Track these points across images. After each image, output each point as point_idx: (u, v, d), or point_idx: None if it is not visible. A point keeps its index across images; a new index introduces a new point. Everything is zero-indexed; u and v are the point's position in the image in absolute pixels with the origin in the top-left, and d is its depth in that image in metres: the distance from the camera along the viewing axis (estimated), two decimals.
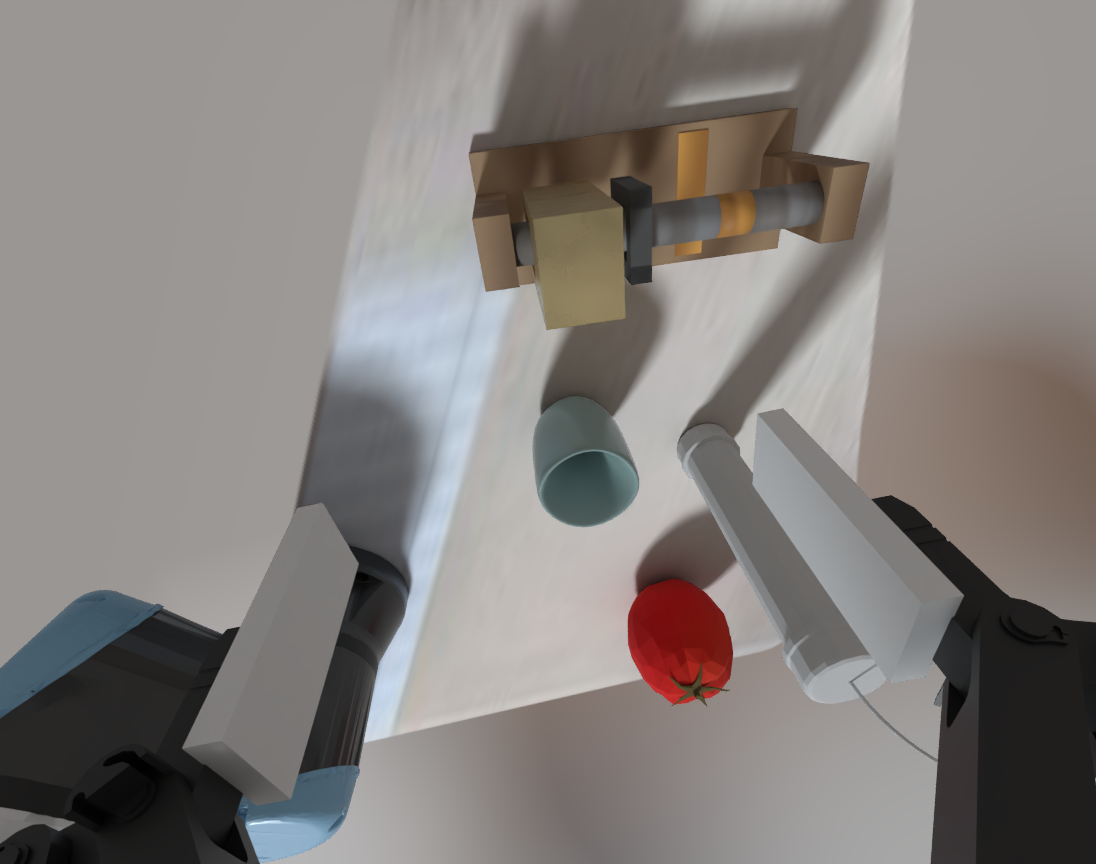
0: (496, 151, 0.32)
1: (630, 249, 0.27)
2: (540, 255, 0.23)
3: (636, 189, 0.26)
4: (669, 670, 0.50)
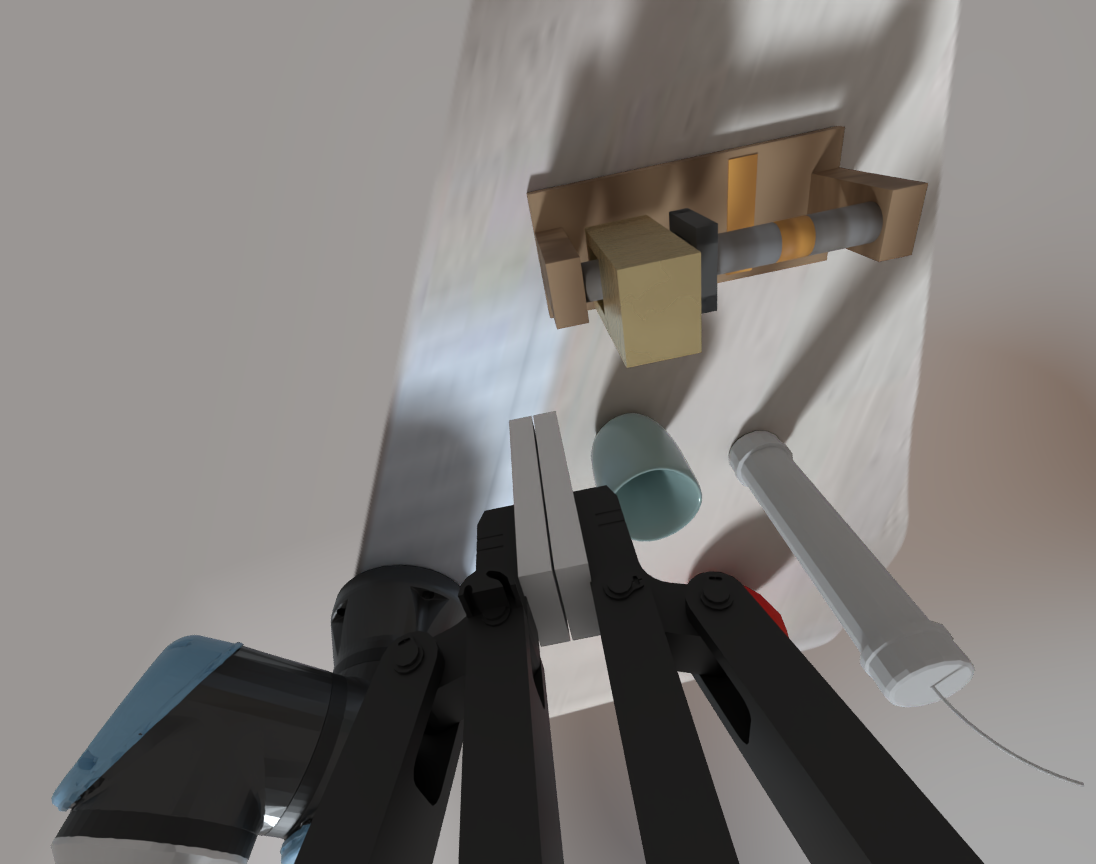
0: (553, 190, 0.34)
1: None
2: (623, 302, 0.24)
3: (702, 226, 0.27)
4: None
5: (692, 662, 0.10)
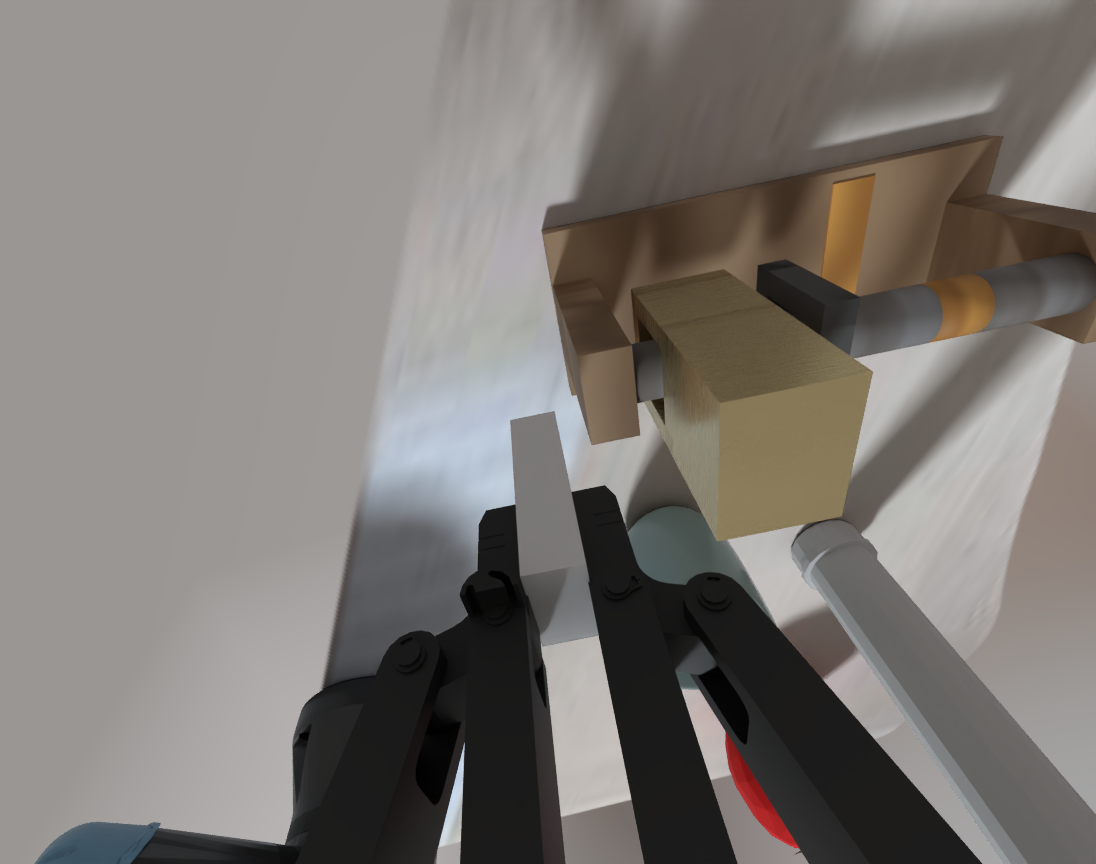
0: (581, 228, 0.23)
1: None
2: (723, 450, 0.14)
3: (835, 302, 0.17)
4: None
5: (690, 662, 0.10)
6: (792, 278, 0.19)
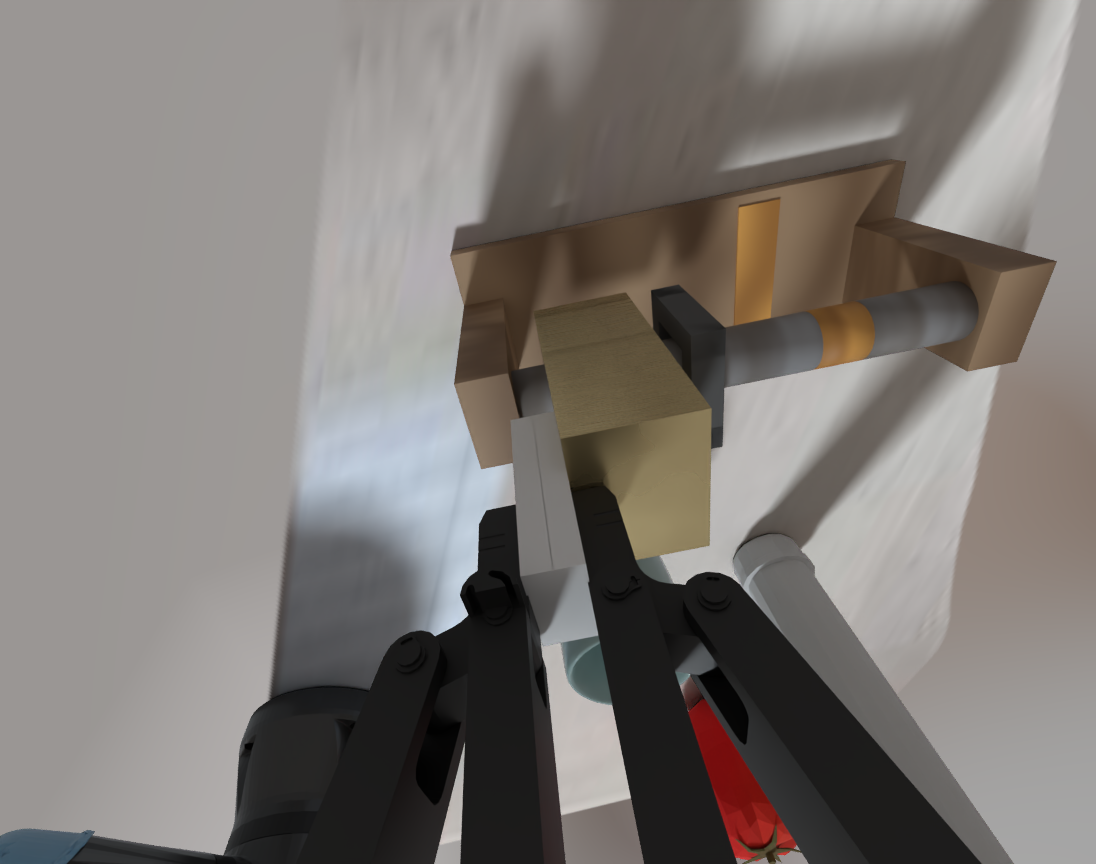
0: (488, 249, 0.24)
1: None
2: (574, 483, 0.14)
3: (701, 333, 0.17)
4: (736, 830, 0.41)
5: (689, 663, 0.10)
6: (675, 305, 0.19)
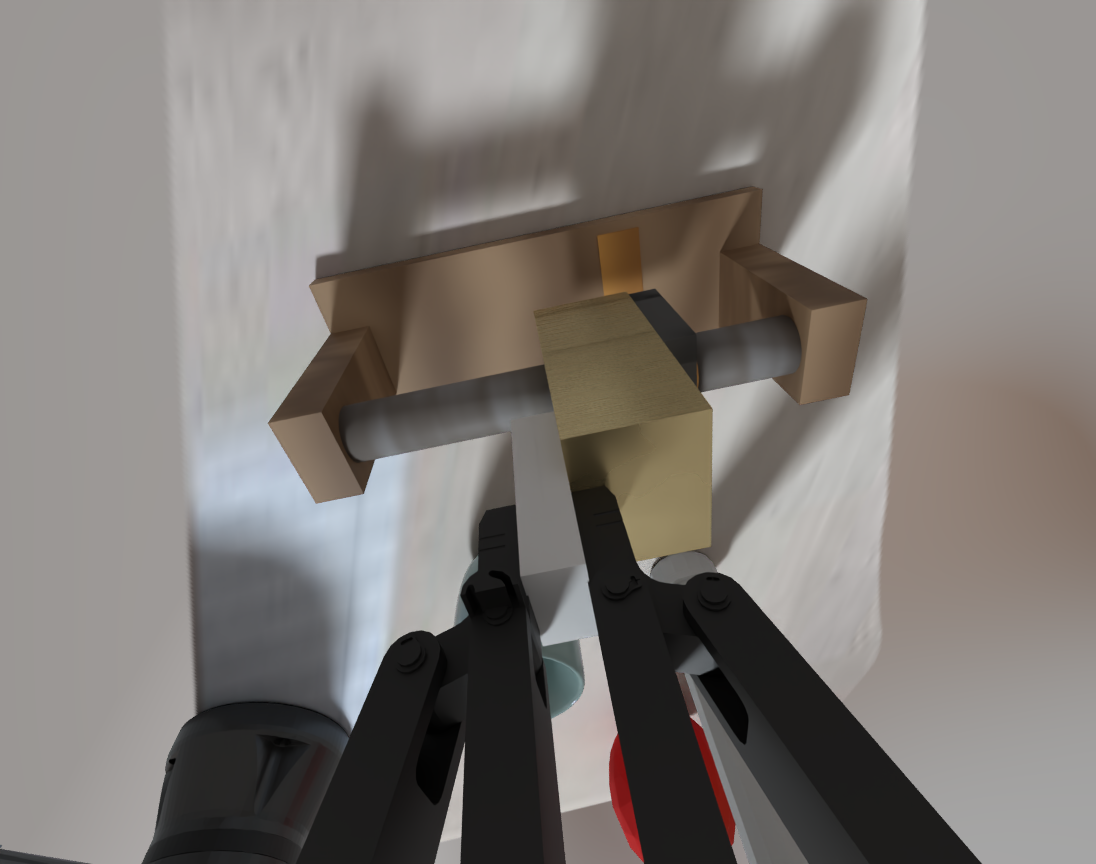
0: (346, 279, 0.24)
1: None
2: (574, 485, 0.14)
3: (671, 339, 0.17)
4: None
5: (689, 662, 0.10)
6: (649, 310, 0.19)
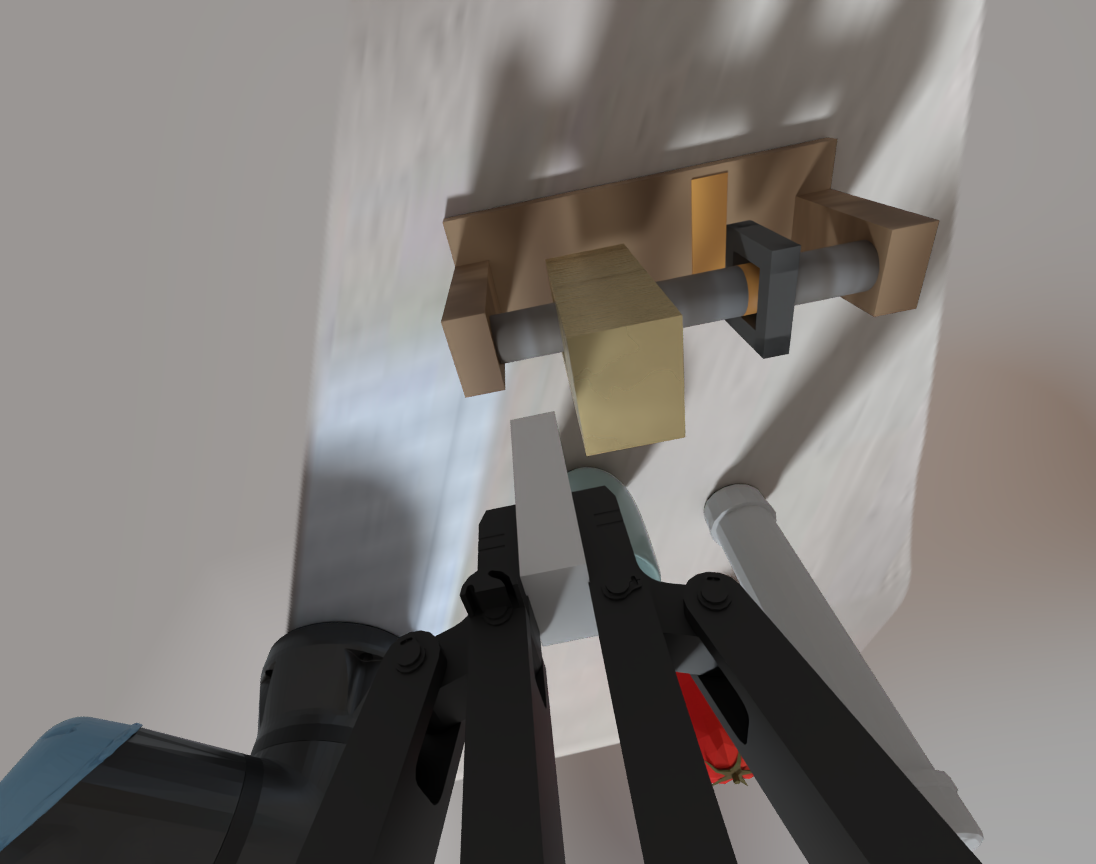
0: (474, 216, 0.27)
1: (765, 318, 0.22)
2: (577, 377, 0.18)
3: (780, 249, 0.20)
4: (704, 753, 0.45)
5: (690, 662, 0.10)
6: (751, 233, 0.23)
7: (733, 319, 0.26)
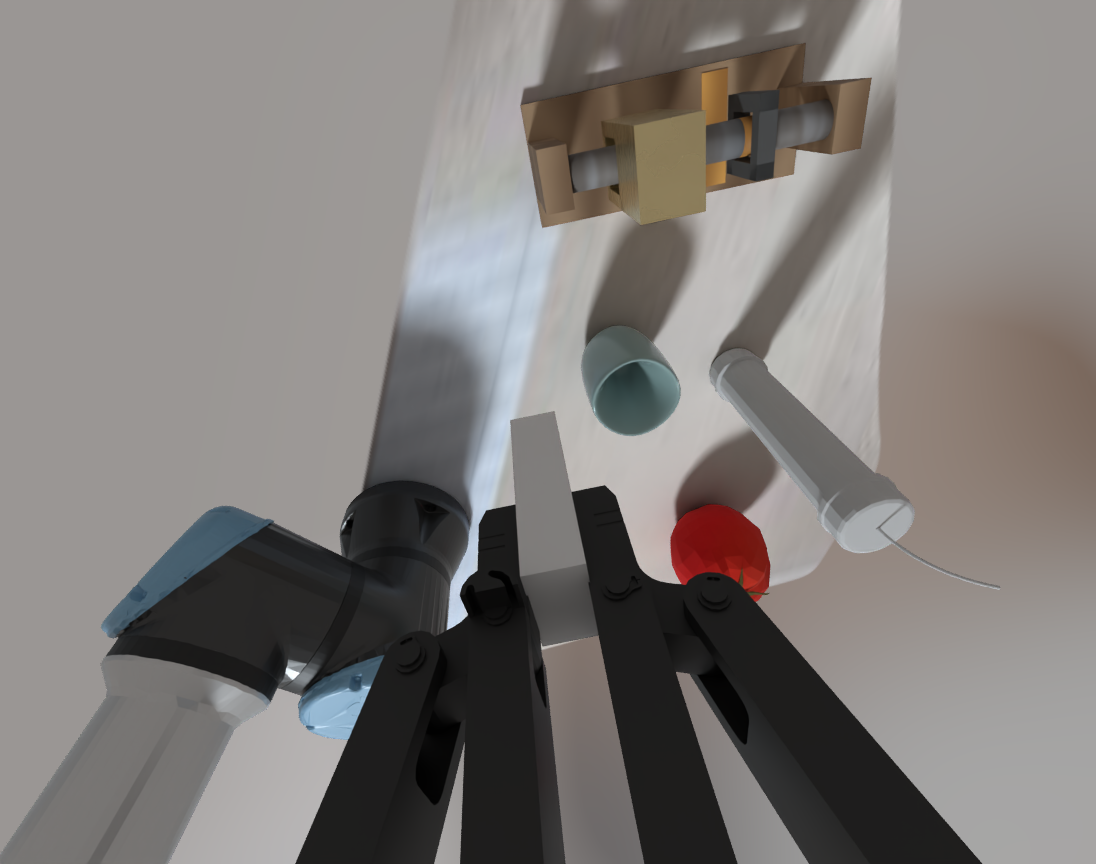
0: (544, 101, 0.38)
1: (757, 148, 0.32)
2: (638, 157, 0.28)
3: (766, 92, 0.31)
4: None
5: (690, 663, 0.10)
6: (746, 93, 0.33)
7: (734, 167, 0.36)
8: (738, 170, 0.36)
